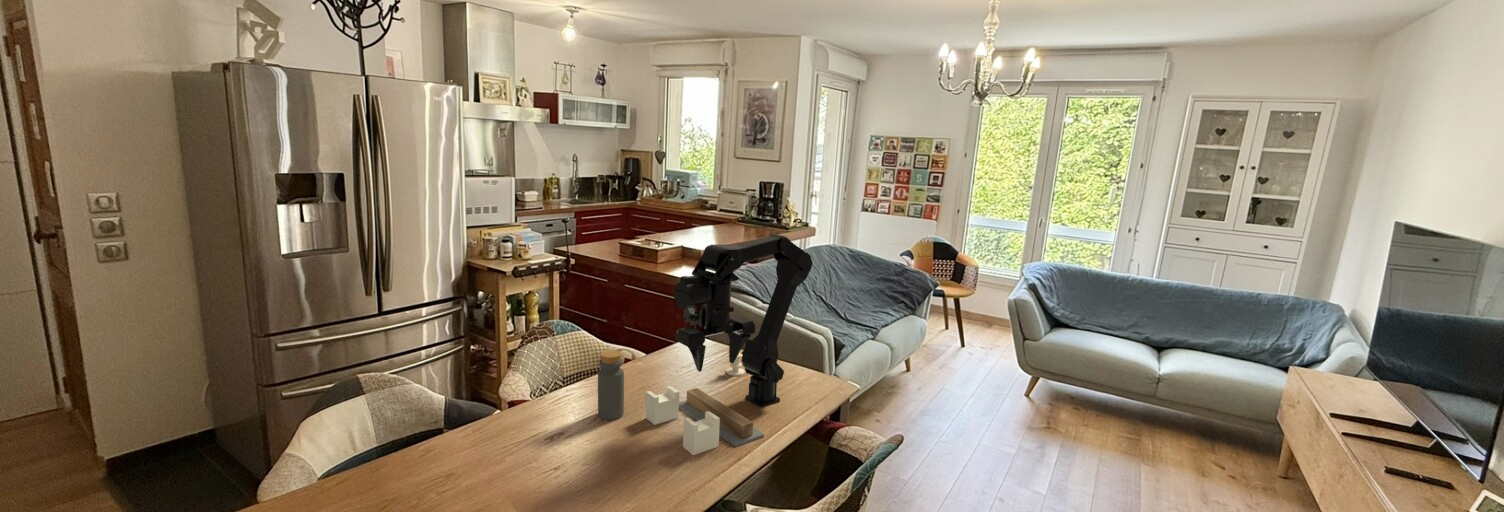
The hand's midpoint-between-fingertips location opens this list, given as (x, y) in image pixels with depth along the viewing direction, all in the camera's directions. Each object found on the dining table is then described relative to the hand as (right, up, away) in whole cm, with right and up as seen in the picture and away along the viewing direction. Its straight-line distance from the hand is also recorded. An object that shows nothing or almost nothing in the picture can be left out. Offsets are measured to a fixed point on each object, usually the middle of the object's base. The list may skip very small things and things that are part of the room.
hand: (715, 366), depth 139 cm
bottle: (-24, -12, +1) cm, 27 cm away
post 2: (-2, -15, -11) cm, 19 cm away
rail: (0, -12, +1) cm, 12 cm away
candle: (+4, -7, +30) cm, 31 cm away
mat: (0, -13, +1) cm, 13 cm away
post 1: (-12, -12, +1) cm, 17 cm away
